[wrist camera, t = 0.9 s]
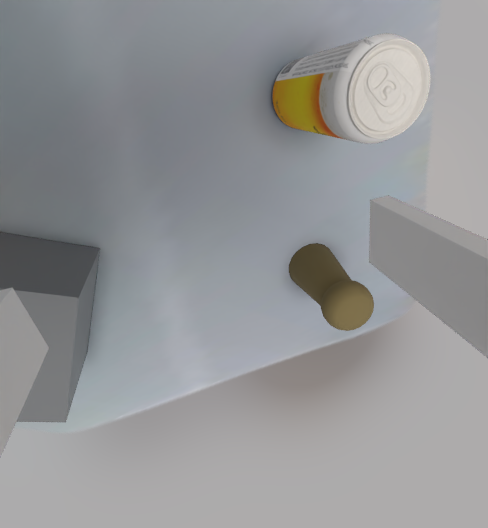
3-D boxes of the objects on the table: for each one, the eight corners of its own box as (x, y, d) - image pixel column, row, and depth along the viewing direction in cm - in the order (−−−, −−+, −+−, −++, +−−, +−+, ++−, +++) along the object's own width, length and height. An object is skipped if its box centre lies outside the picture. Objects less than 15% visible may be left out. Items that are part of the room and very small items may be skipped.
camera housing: (-11, 230, 32) (-84, 284, 23) (99, 248, 35) (76, 303, 26) (-9, 357, 38) (-67, 443, 29) (85, 363, 41) (62, 442, 32)
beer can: (298, 141, 35) (380, 166, 22) (257, 97, 32) (322, 95, 19) (340, 92, 33) (453, 88, 20) (300, 43, 31) (402, 1, 18)
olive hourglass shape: (303, 236, 40) (347, 280, 30) (342, 252, 42) (395, 298, 32) (280, 278, 42) (315, 332, 32) (318, 291, 44) (362, 345, 34)
